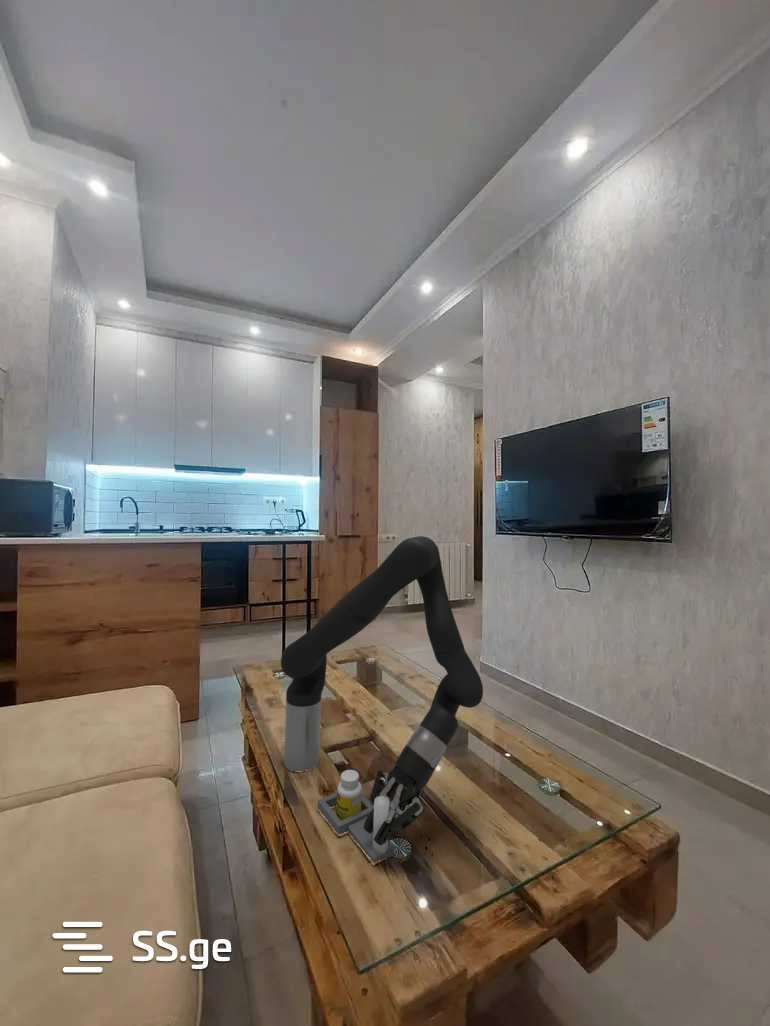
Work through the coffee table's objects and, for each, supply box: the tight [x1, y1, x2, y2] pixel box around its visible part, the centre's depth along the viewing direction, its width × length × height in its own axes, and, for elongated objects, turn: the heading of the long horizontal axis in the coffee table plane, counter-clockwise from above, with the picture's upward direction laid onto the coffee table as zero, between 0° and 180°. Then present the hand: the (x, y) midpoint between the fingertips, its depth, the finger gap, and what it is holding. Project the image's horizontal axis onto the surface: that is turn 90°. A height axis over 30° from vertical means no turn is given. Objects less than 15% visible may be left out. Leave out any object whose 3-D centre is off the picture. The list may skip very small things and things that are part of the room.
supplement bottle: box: [335, 769, 363, 821], centre depth 95 cm, size 5×5×10 cm
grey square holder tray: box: [317, 792, 395, 862], centre depth 92 cm, size 19×9×11 cm, turn 36°
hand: (372, 836), depth 84 cm, fingers closed on grey square holder tray, 3 cm apart
